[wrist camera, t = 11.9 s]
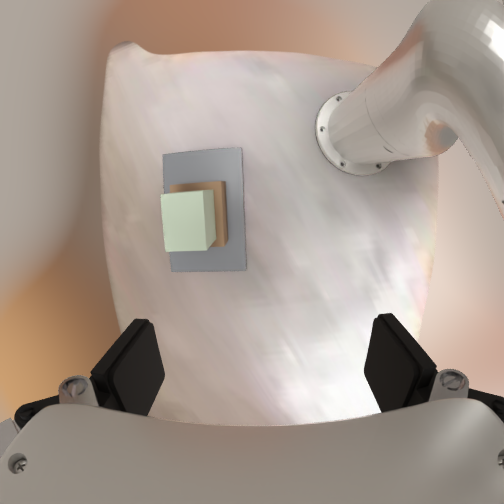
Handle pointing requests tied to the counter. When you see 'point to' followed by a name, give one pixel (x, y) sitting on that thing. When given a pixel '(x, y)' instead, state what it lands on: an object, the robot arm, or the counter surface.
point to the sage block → (188, 220)
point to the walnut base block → (219, 206)
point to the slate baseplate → (230, 170)
